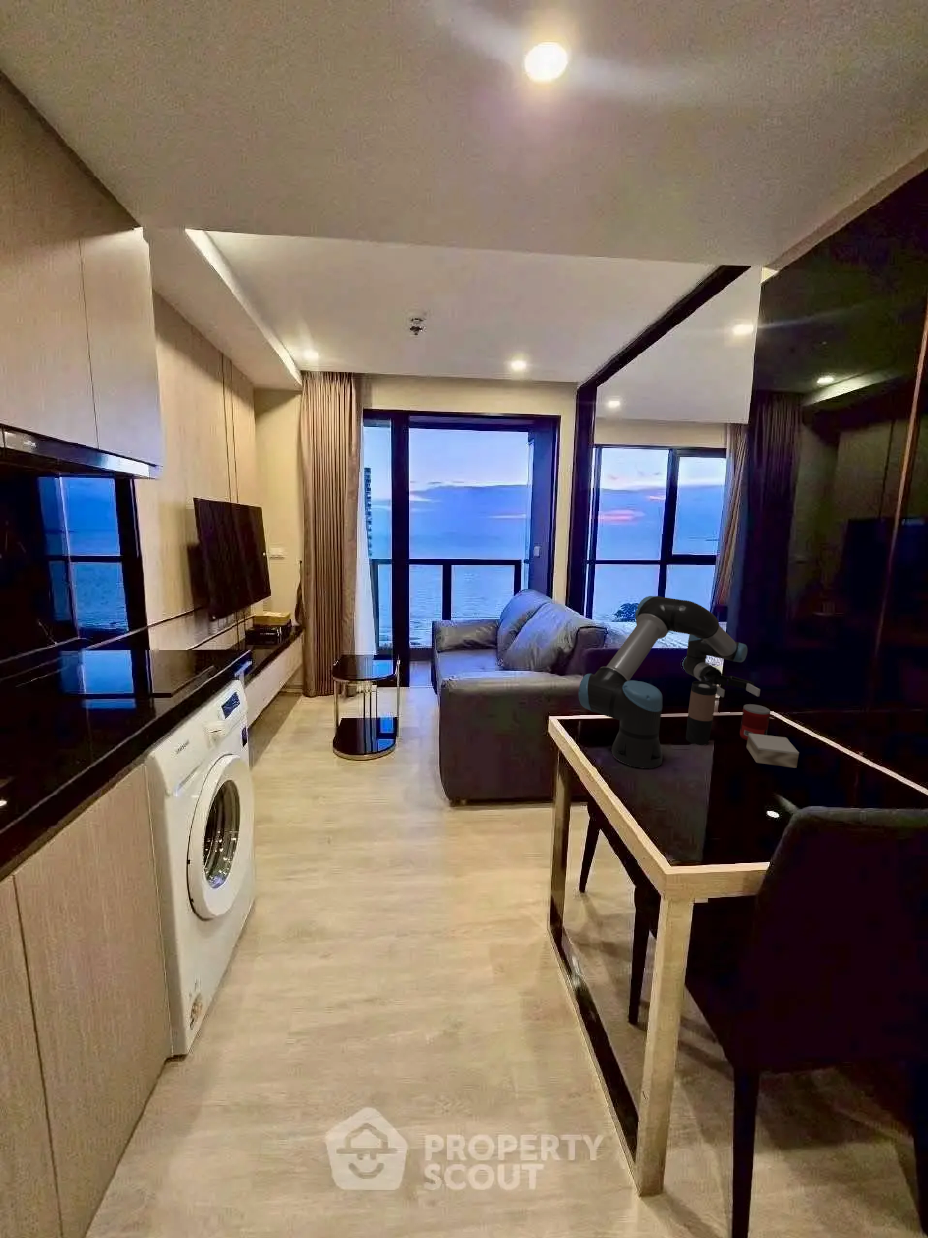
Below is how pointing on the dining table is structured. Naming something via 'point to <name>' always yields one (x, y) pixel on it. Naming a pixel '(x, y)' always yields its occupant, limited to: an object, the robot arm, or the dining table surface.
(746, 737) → the canned food
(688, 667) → the robot arm
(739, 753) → the dining table surface
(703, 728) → the travel mug
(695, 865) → the dining table surface
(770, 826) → the dining table surface
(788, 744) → the birch plinth
